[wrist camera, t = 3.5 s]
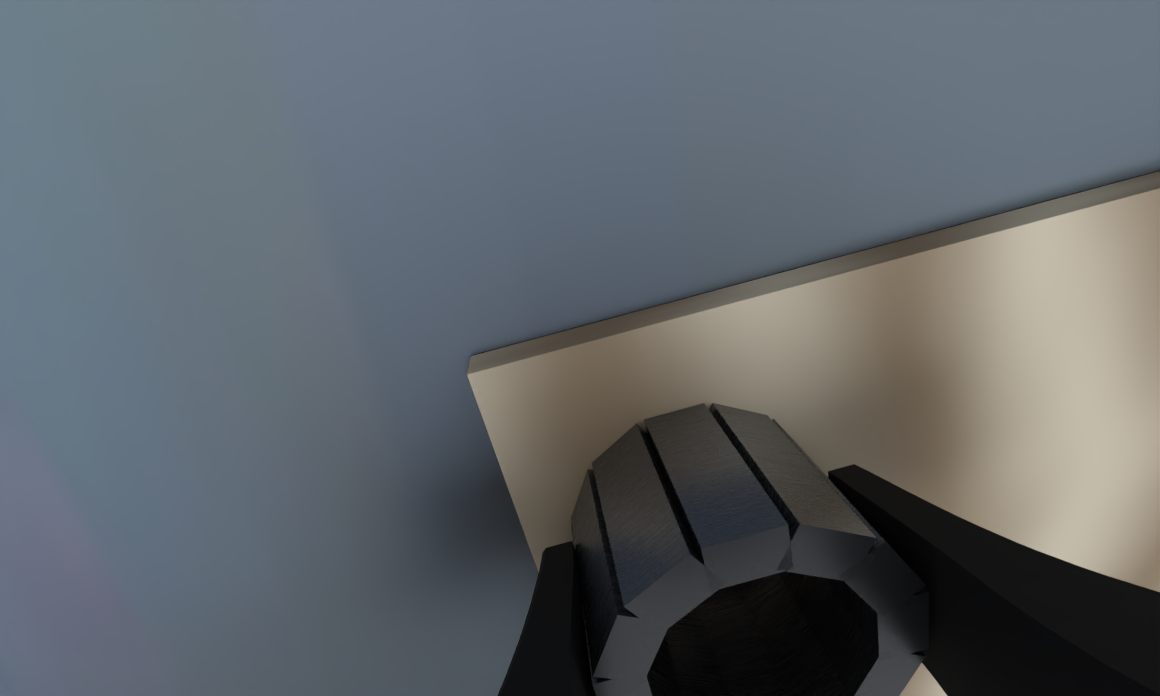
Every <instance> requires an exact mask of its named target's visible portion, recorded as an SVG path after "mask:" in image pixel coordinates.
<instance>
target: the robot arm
mask: <svg viewBox="0 0 1160 696" xmlns="http://www.w3.org/2000/svg"><path fill="white" fill-rule="evenodd" d="M828 478H829V479H830V480H831V481H832V482H833V483H834V484H835V485H836V486H837V487H838V489H839V490H840V491H841V492H842V493H843V494H844V495H845V496H846V497H847V498H848V500H849V501H850V502H851V503H852V504H853V505H854V506H855V507H856V508H857V509H858V511H859V512H860V513H861V514H862V515H863V516H864V517H865V518H866V519H867V521H868V522H869V523H870V524H871V525H872V526H873V527H874V528H875V529H876V530H877V532H878V533H879V534H880V535H881V536H882V537H883V538H884V539H885V540H886V541H887V543H888V544H889V545H890V546H891V547H892V548H893V549H894V550H895V551H896V553H897V554H898V555H899V556H900V557H901V558H902V559H903V560H904V561H905V562H906V564H907V565H908V566H909V567H910V568H911V569H912V570H913V571H914V572H915V573H916V575H917V576H918V577H919V578H920V579H921V580H922V581H923V582H924V583H925V584H926V586H925V589H926V590H927V591H928V592H929V649H925V650H922V652H923V653H924V654H925V656H926V657H925V658H924V660H923V661H922V663H923V665H924V666H925V667H926V668H927V670H928V671H929V672H930V673H931V675H932V676H933V677H934V678H935V680H936V681H937V682H938V684H939V685H940V686H941V688H942V689H943V691H944V692H945V693H946V695H947V696H1160V592H1158V591H1154V590H1151V589H1148V588H1145V587H1141V586H1138V585H1135V584H1132V583H1129V582H1125V581H1122V580H1119V579H1116V578H1113V577H1109V576H1106V575H1103V574H1100V573H1097V572H1095V571H1092V570H1089V569H1086V568H1083V567H1080V566H1077V565H1074V564H1072V563H1069V562H1066V561H1064V560H1061V559H1058V558H1056V557H1053V556H1050V555H1048V554H1045V553H1042V552H1040V551H1037V550H1034V549H1032V548H1029V547H1027V546H1024V545H1022V544H1019V543H1017V542H1015V541H1012V540H1010V539H1008V538H1005V537H1003V536H1001V535H998V534H996V533H994V532H991V531H989V530H987V529H985V528H982V527H980V526H978V525H976V524H973V523H971V522H969V521H967V520H965V519H963V518H960V517H958V516H956V515H954V514H952V513H950V512H948V511H946V510H944V509H942V508H940V507H938V506H936V505H934V504H932V503H930V502H928V501H926V500H924V499H922V498H920V497H918V496H916V495H914V494H912V493H910V492H908V491H906V490H904V489H902V488H900V487H898V486H896V485H894V484H892V483H890V482H889V481H887V480H885V479H883V478H881V477H879V476H877V475H875V474H873V473H871V472H869V471H867V470H865V469H863V468H861V467H859V466H857V465H855V464H853V465H849V466H845V467H842V468H838V469H834V470H831V471H828ZM498 696H596V694H595V691H594V688H593V685H592V678H591V671H590V663H589V656H588V648H587V641H586V633H585V626H584V618H583V611H582V604H581V587H580V580H579V573H578V565H577V558H576V551H575V548H574V545H573V542H572V541H569V542H566V543H562V544H558V545H555V546H551V547H547V548H545V550H544V551H543V553H542V558H541V564H540V569H539V573H538V578H537V582H536V586H535V590H534V593H533V597H532V601H531V604H530V607H529V611H528V614H527V617H526V620H525V624H524V627H523V630H522V633H521V636H520V639H519V642H518V645H517V647H516V650H515V653H514V655H513V658H512V661H511V663H510V666H509V669H508V671H507V674H506V677H505V679H504V682H503V684H502V686H501V689H500V691H499V693H498Z"/></svg>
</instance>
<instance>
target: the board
mask: <svg viewBox="0 0 1160 696" xmlns="http://www.w3.org/2000/svg"><path fill="white" fill-rule="evenodd" d="M467 376H468V379H469V382H470V384H471V387H472V390H473V393H474V396H475V398H476V401H477V404H478V407H479V409H480V412H481V415H482V418H483V420H484V423H485V426H486V429H487V431H488V434H489V437H490V440H491V443H492V445H493V448H494V451H495V454H496V456H497V459H498V462H499V465H500V467H501V470H502V473H503V476H504V479H505V481H506V484H507V487H508V490H509V492H510V495H511V498H512V501H513V503H514V506H515V509H516V512H517V514H518V517H519V520H520V523H521V526H522V528H523V531H524V534H525V537H526V539H527V542H528V545H529V548H530V550H531V553H532V556H533V559H534V561H535V564H536V567H537V570H538V573H539V569H540V564H541V558H542V553H543V551H544V550H545V548H547V547H551V546H555V545H558V544H562V543H566V542H569V541H572V542H573V536H572V529H571V524H572V522H571V516H572V513H573V510H574V507H575V504H576V501H577V498H578V495H579V492H580V489H581V486H582V483H583V481H584V478H585V475H586V472H587V469H590V470H593V466H592V462H593V461H594V460H595V459H596V458H598V457H599V456H600V455H601V454H602V453H603V452H604V451H606V450H607V449H608V448H609V447H610V446H611V445H612V444H614V443H615V442H616V441H617V440H618V439H619V438H620V437H621V436H623V435H624V434H625V433H626V432H627V431H628V430H629V429H631V428H632V427H633V426H634V425H635V424H636V423H637V424H638V425H639V426H640V427H641V428H642V429H643V430H644V431H646V432H647V430H646V426H645V421H644V419H647V418H651V417H654V416H658V415H662V414H665V413H669V412H673V411H676V410H680V409H684V408H688V407H691V406H695V405H699V404H702V403H704V404H705V405H706V407H707V408H708V410H710V407H711V405H712V403H715V404H720V405H724V406H729V407H733V408H738V409H742V410H747V411H751V412H756V413H760V414H765V415H768V416H769V418H770V419H771V420H772V419H775V421H776V422H777V423H778V424H779V425H780V426H781V427H782V428H783V429H784V430H785V431H786V432H787V433H788V434H789V435H790V436H791V437H792V438H793V440H794V441H795V442H796V443H797V444H798V445H799V446H800V447H801V448H802V449H803V450H804V451H805V452H806V453H807V454H808V455H809V457H810V458H811V459H812V460H813V461H814V462H815V463H816V464H817V465H818V466H819V468H820V469H821V470H822V471H823V472H824V473H825V474H826V475H827V476H828V471H831V470H834V469H838V468H842V467H845V466H849V465H853V464H855V465H857V466H859V467H861V468H863V469H865V470H867V471H869V472H871V473H873V474H875V475H877V476H879V477H881V478H883V479H885V480H887V481H889V482H890V483H892V484H894V485H896V486H898V487H900V488H902V489H904V490H906V491H908V492H910V493H912V494H914V495H916V496H918V497H920V498H922V499H924V500H926V501H928V502H930V503H932V504H934V505H936V506H938V507H940V508H942V509H944V510H946V511H948V512H950V513H952V514H954V515H956V516H958V517H960V518H963V519H965V520H967V521H969V522H971V523H973V524H976V525H978V526H980V527H982V528H985V529H987V530H989V531H991V532H994V533H996V534H998V535H1001V536H1003V537H1005V538H1008V539H1010V540H1012V541H1015V542H1017V543H1019V544H1022V545H1024V546H1027V547H1029V548H1032V549H1034V550H1037V551H1040V552H1042V553H1045V554H1048V555H1050V556H1053V557H1056V558H1058V559H1061V560H1064V561H1066V562H1069V563H1072V564H1074V565H1077V566H1080V567H1083V568H1086V569H1089V570H1092V571H1095V572H1097V573H1100V574H1103V575H1106V576H1109V577H1113V578H1116V579H1119V580H1122V581H1125V582H1129V583H1132V584H1135V585H1138V586H1141V587H1145V588H1148V589H1151V590H1154V591H1158V592H1160V171H1158V172H1154V173H1151V174H1147V175H1143V176H1139V177H1136V178H1132V179H1128V180H1125V181H1121V182H1117V183H1113V184H1110V185H1106V186H1102V187H1098V188H1095V189H1091V190H1087V191H1084V192H1080V193H1076V194H1072V195H1069V196H1065V197H1061V198H1058V199H1054V200H1050V201H1046V202H1043V203H1039V204H1035V205H1031V206H1028V207H1024V208H1020V209H1017V210H1013V211H1009V212H1005V213H1002V214H998V215H994V216H991V217H987V218H983V219H979V220H976V221H972V222H968V223H964V224H961V225H957V226H953V227H950V228H946V229H942V230H938V231H935V232H931V233H927V234H924V235H920V236H916V237H912V238H909V239H905V240H901V241H898V242H894V243H890V244H886V245H883V246H879V247H875V248H871V249H868V250H864V251H860V252H857V253H853V254H849V255H845V256H842V257H838V258H834V259H831V260H827V261H823V262H819V263H816V264H812V265H808V266H804V267H801V268H797V269H793V270H790V271H786V272H782V273H778V274H775V275H771V276H767V277H764V278H760V279H756V280H752V281H749V282H745V283H741V284H737V285H734V286H730V287H726V288H723V289H719V290H715V291H711V292H708V293H704V294H700V295H697V296H693V297H689V298H685V299H682V300H678V301H674V302H670V303H667V304H663V305H659V306H656V307H652V308H648V309H644V310H641V311H637V312H633V313H630V314H626V315H622V316H618V317H615V318H611V319H607V320H603V321H600V322H596V323H592V324H589V325H585V326H581V327H577V328H574V329H570V330H566V331H563V332H559V333H555V334H551V335H548V336H544V337H540V338H536V339H533V340H529V341H525V342H522V343H518V344H514V345H510V346H507V347H503V348H499V349H496V350H492V351H488V352H484V353H481V354H477V355H473V356H471V358H470V363H469V367H468V372H467ZM573 545H574V544H573ZM900 696H947V695H946V693H945V692H944V691H943V689H942V688H941V686H940V685H939V684H938V682H937V681H936V680H935V678H934V677H933V676H932V675H931V673H930V672H929V671H928V670H927V668H926V667H925V666H924V665H923V663H921V664H920V666H919V667H918V669H917V670H916V672H915V673H914V675H913V676H912V678H911V679H910V681H909V682H908V684H907V685H906V687H905V688H904V690H903V691H902V693H901V694H900Z"/></svg>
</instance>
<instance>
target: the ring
mask: <svg viewBox="0 0 1160 696" xmlns="http://www.w3.org/2000/svg"><path fill="white" fill-rule="evenodd" d="M644 421H645V426H646V430H647V432H646V431H644V430H643V429H642V428H641V427H640V426H639V425H638V424H637V423H636V424H635V425H634V426H633V427H632V428H631V429H629V430H628V431H627V432H626V433H625V434H624V435H623V436H621V437H620V438H619V439H618V440H617V441H616V442H615V443H614V444H612V445H611V446H610V447H609V448H608V449H607V450H606V451H604V452H603V453H602V454H601V455H600V456H599V457H598V458H596V459H595V460H594V461H593V462H592V466H593V470H590V469H587V472H586V475H585V478H584V481H583V483H582V486H581V489H580V492H579V495H578V498H577V501H576V504H575V507H574V510H573V513H572V516H571V522H572V524H571V529H572V536H573V544H574V548H575V551H576V558H577V565H578V573H579V580H580V587H581V604H582V611H583V618H584V626H585V633H586V641H587V648H588V656H589V663H590V671H591V678H592V685H593V688H594V691H595V694H596V696H900V694H901V693H902V691H903V690H904V688H905V687H906V685H907V684H908V682H909V681H910V679H911V678H912V676H913V675H914V673H915V672H916V670H917V669H918V667H919V666H920V664H921V663H922V661H923V660H924V658H925V657H926V656H925V654H924V653H923V652H922V650H925V649H929V592H928V591H927V590H926V589H925V586H926V584H925V583H924V582H923V581H922V580H921V579H920V578H919V577H918V576H917V575H916V573H915V572H914V571H913V570H912V569H911V568H910V567H909V566H908V565H907V564H906V562H905V561H904V560H903V559H902V558H901V557H900V556H899V555H898V554H897V553H896V551H895V550H894V549H893V548H892V547H891V546H890V545H889V544H888V543H887V541H886V540H885V539H884V538H883V537H882V536H881V535H880V534H879V533H878V532H877V530H876V529H875V528H874V527H873V526H872V525H871V524H870V523H869V522H868V521H867V519H866V518H865V517H864V516H863V515H862V514H861V513H860V512H859V511H858V509H857V508H856V507H855V506H854V505H853V504H852V503H851V502H850V501H849V500H848V498H847V497H846V496H845V495H844V494H843V493H842V492H841V491H840V490H839V489H838V487H837V486H836V485H835V484H834V483H833V482H832V481H831V480H830V479H829V478H828V476H827V475H826V474H825V473H824V472H823V471H822V470H821V469H820V468H819V466H818V465H817V464H816V463H815V462H814V461H813V460H812V459H811V458H810V457H809V455H808V454H807V453H806V452H805V451H804V450H803V449H802V448H801V447H800V446H799V445H798V444H797V443H796V442H795V441H794V440H793V438H792V437H791V436H790V435H789V434H788V433H787V432H786V431H785V430H784V429H783V428H782V427H781V426H780V425H779V424H778V423H777V422H776V421H775V419H772V420H771V419H770V418H769V416H768V415H765V414H760V413H756V412H751V411H747V410H742V409H738V408H733V407H729V406H724V405H720V404H715V403H712V405H711V407H710V410H708V408H707V407H706V405H705V404H704V403H702V404H699V405H695V406H691V407H688V408H684V409H680V410H676V411H673V412H669V413H665V414H662V415H658V416H654V417H651V418H647V419H644Z"/></svg>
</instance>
